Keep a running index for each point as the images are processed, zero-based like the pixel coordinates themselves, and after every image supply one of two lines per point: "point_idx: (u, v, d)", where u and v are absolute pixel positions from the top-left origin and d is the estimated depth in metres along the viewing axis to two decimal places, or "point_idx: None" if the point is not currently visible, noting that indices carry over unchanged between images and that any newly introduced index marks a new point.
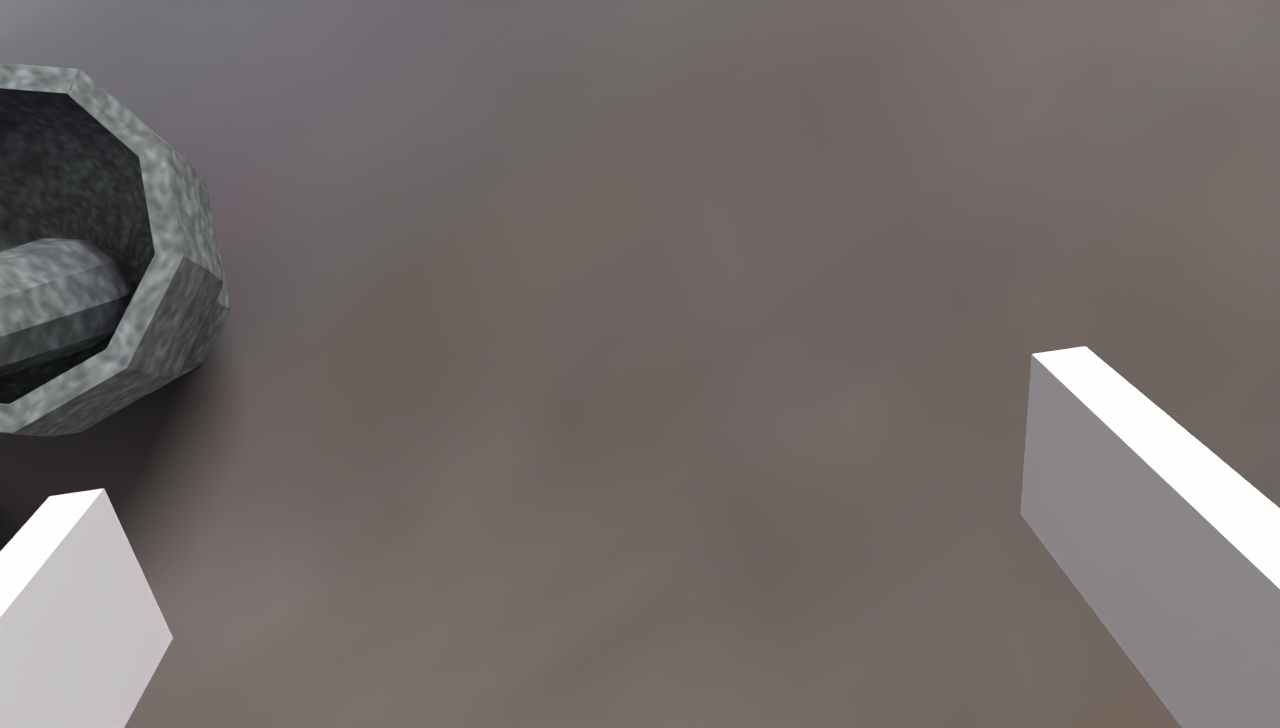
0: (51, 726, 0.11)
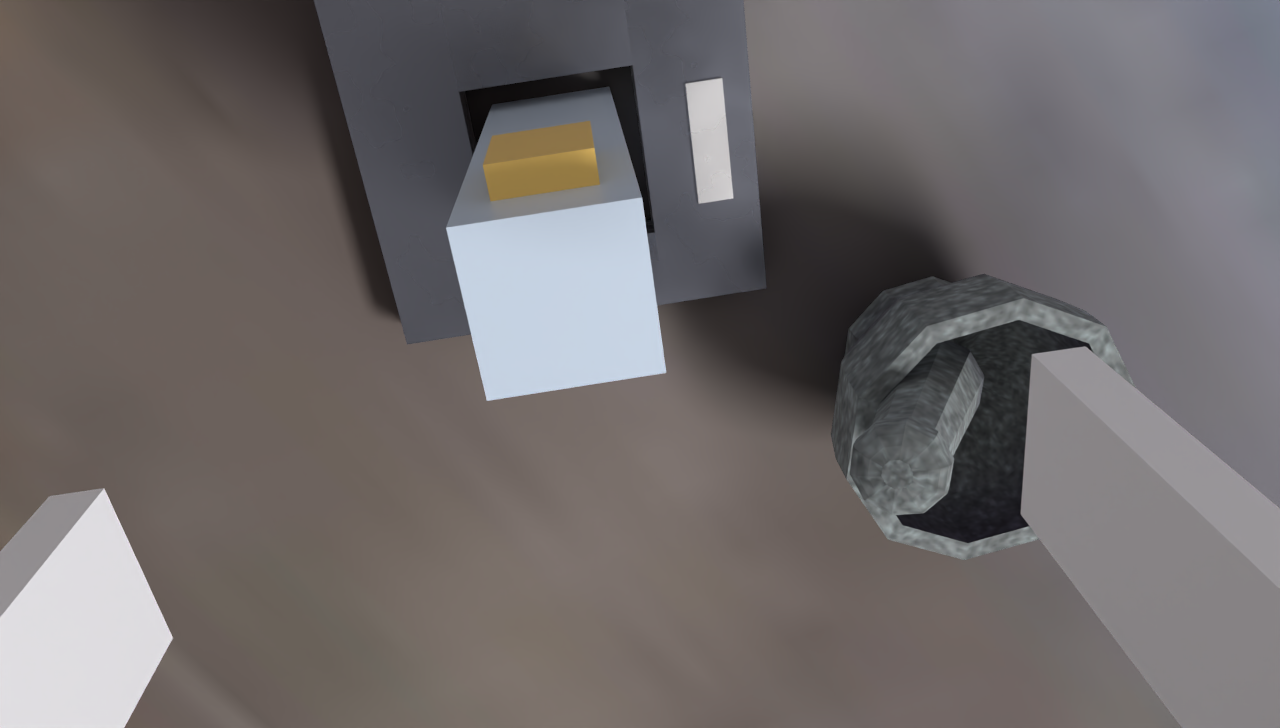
0: (51, 726, 0.11)
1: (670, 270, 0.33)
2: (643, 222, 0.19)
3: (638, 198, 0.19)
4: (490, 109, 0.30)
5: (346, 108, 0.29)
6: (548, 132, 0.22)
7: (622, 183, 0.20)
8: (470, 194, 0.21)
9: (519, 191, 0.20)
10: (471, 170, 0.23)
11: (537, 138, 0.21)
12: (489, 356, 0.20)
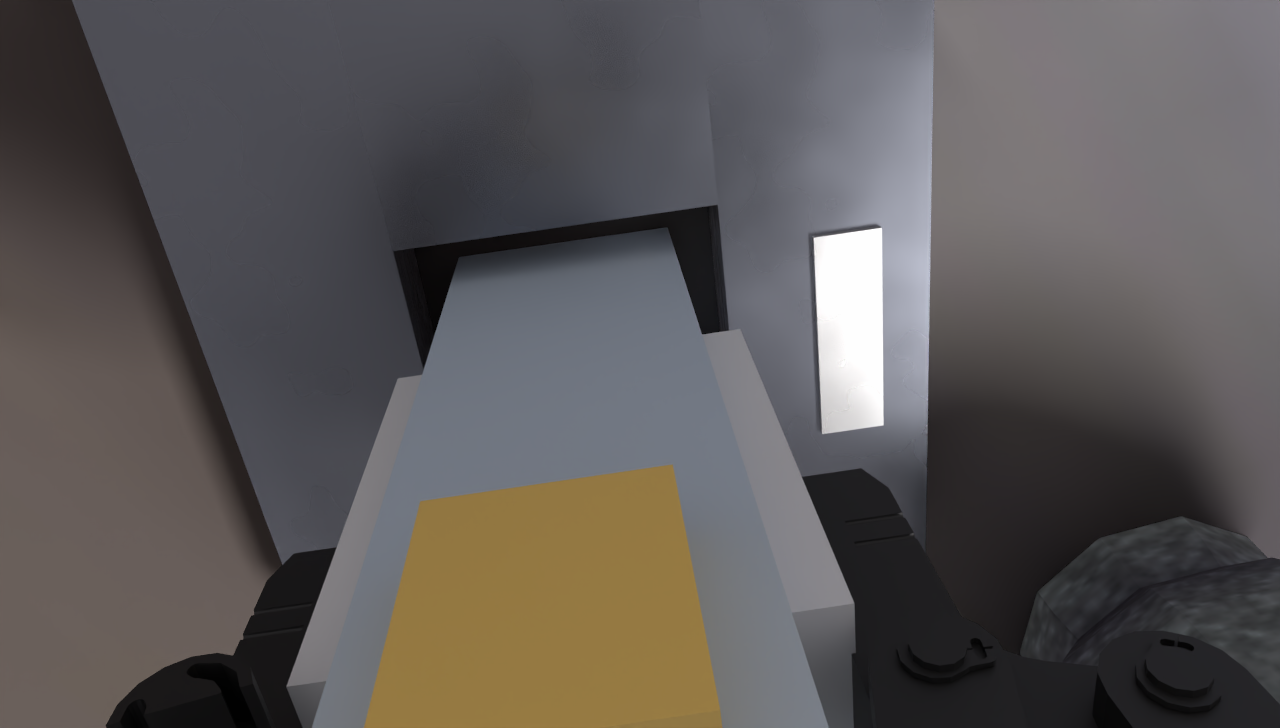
0: None
1: None
2: None
3: None
4: (454, 274, 0.17)
5: (182, 280, 0.16)
6: (566, 519, 0.08)
7: None
8: None
9: None
10: (373, 564, 0.09)
11: (536, 561, 0.08)
12: None
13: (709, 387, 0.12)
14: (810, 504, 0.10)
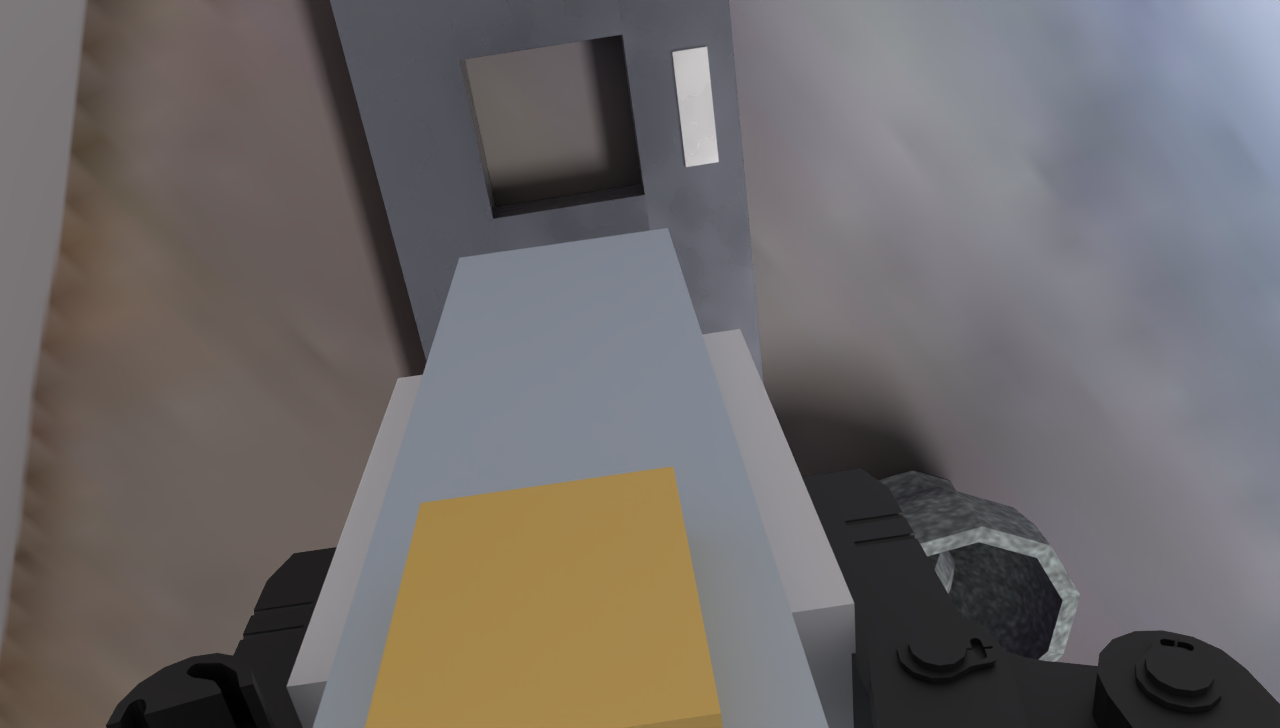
0: None
1: None
2: None
3: None
4: (454, 275, 0.17)
5: None
6: (566, 521, 0.08)
7: None
8: None
9: None
10: (373, 566, 0.09)
11: (536, 563, 0.08)
12: None
13: (709, 388, 0.12)
14: (810, 504, 0.10)
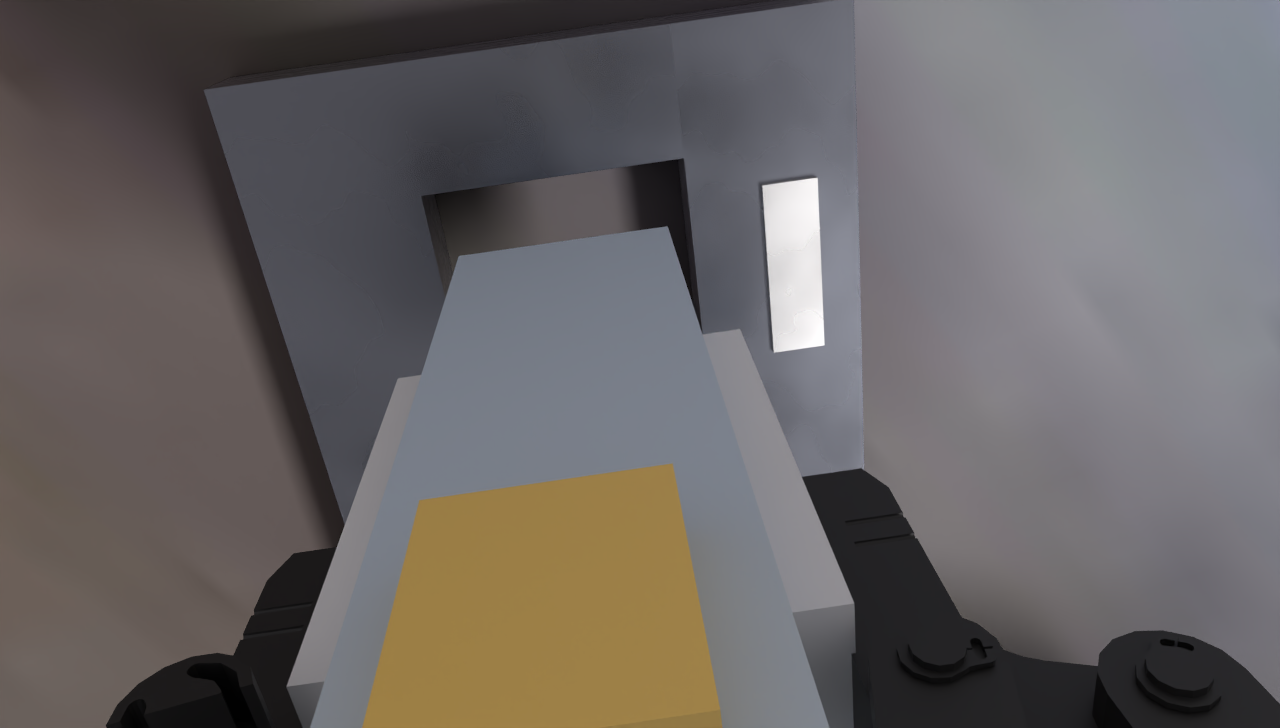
0: None
1: None
2: None
3: None
4: (453, 273, 0.17)
5: None
6: (565, 518, 0.08)
7: None
8: None
9: None
10: (371, 563, 0.09)
11: (535, 560, 0.08)
12: None
13: (709, 386, 0.12)
14: (810, 504, 0.10)
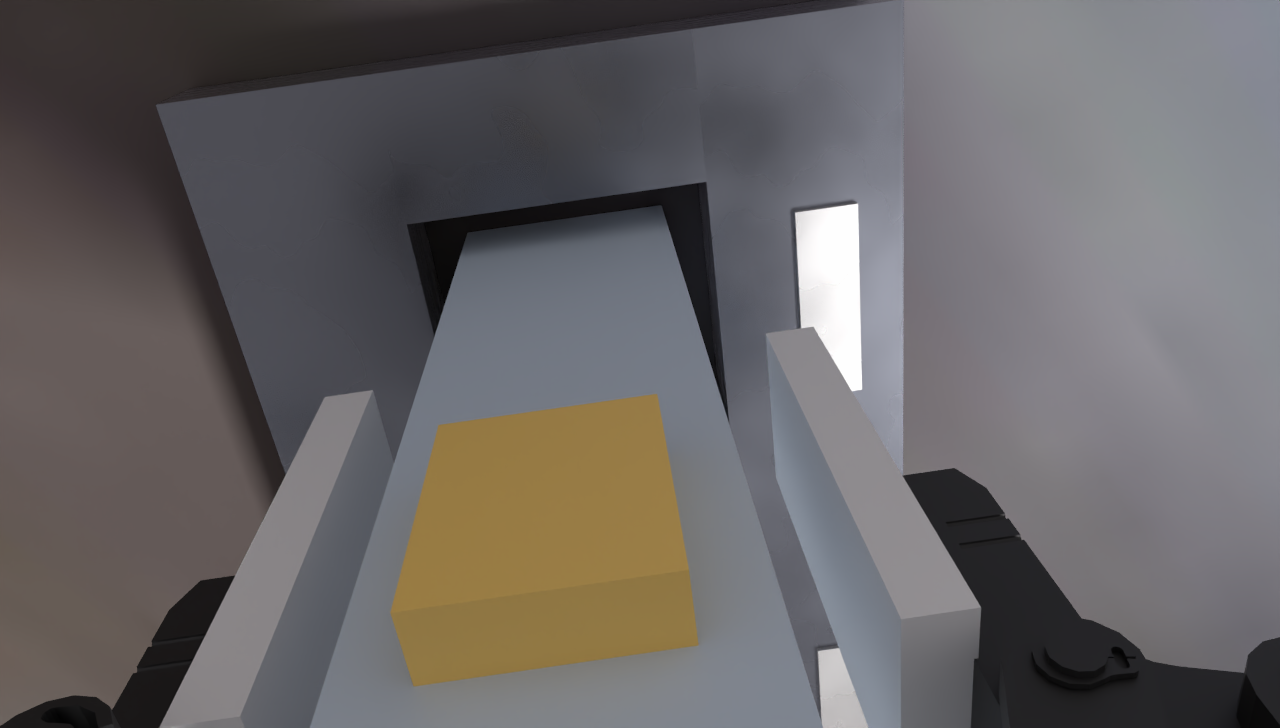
0: None
1: None
2: None
3: None
4: (463, 247, 0.18)
5: None
6: (564, 436, 0.09)
7: (760, 653, 0.08)
8: (372, 623, 0.08)
9: (489, 666, 0.08)
10: (396, 483, 0.11)
11: (538, 468, 0.09)
12: None
13: (694, 340, 0.13)
14: (917, 505, 0.10)
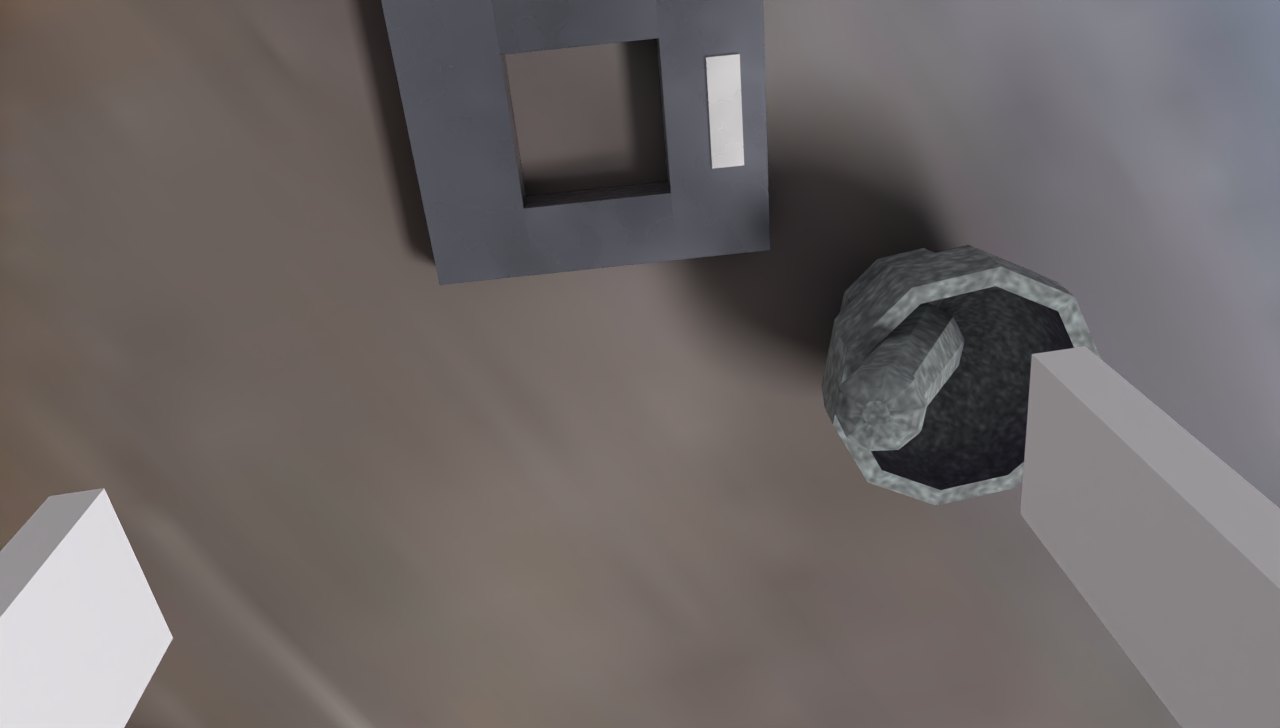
0: (51, 726, 0.11)
1: (683, 229, 0.36)
2: None
3: None
4: None
5: (397, 64, 0.32)
6: None
7: None
8: None
9: None
10: None
11: None
12: None
13: None
14: None
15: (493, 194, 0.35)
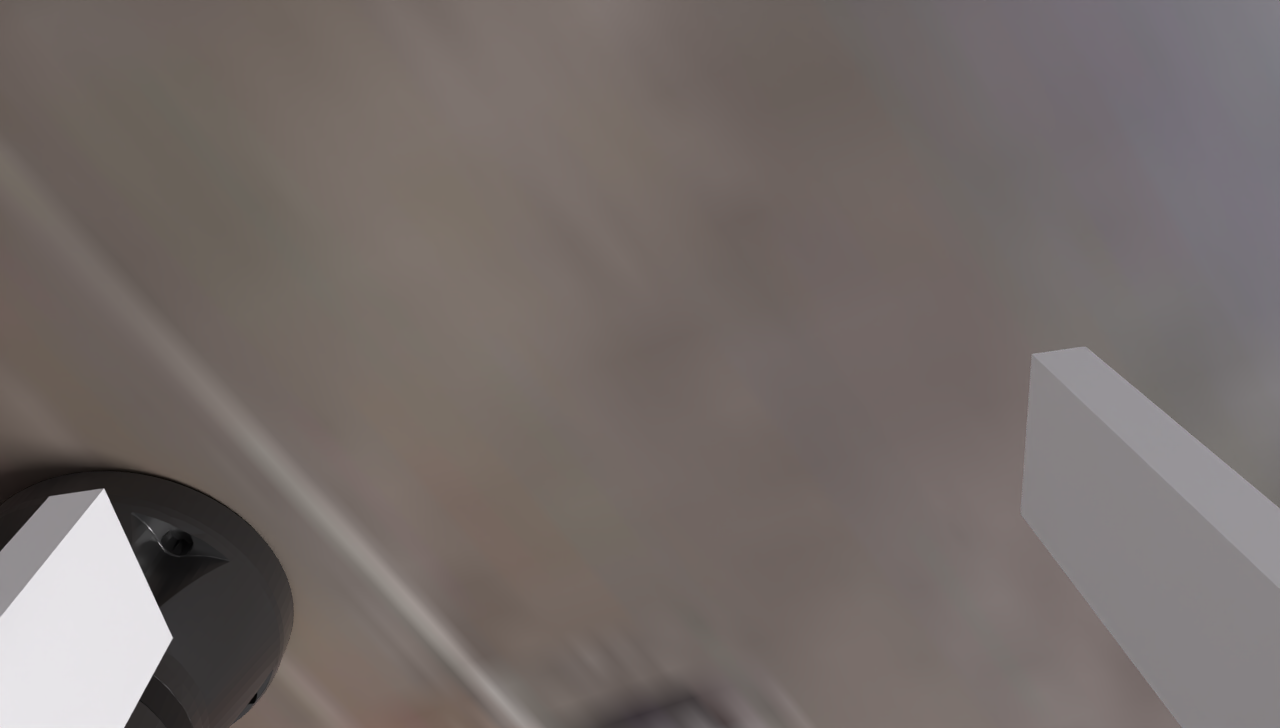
0: (51, 726, 0.11)
1: None
2: None
3: None
4: None
5: None
6: None
7: None
8: None
9: None
10: None
11: None
12: None
13: None
14: None
15: None
